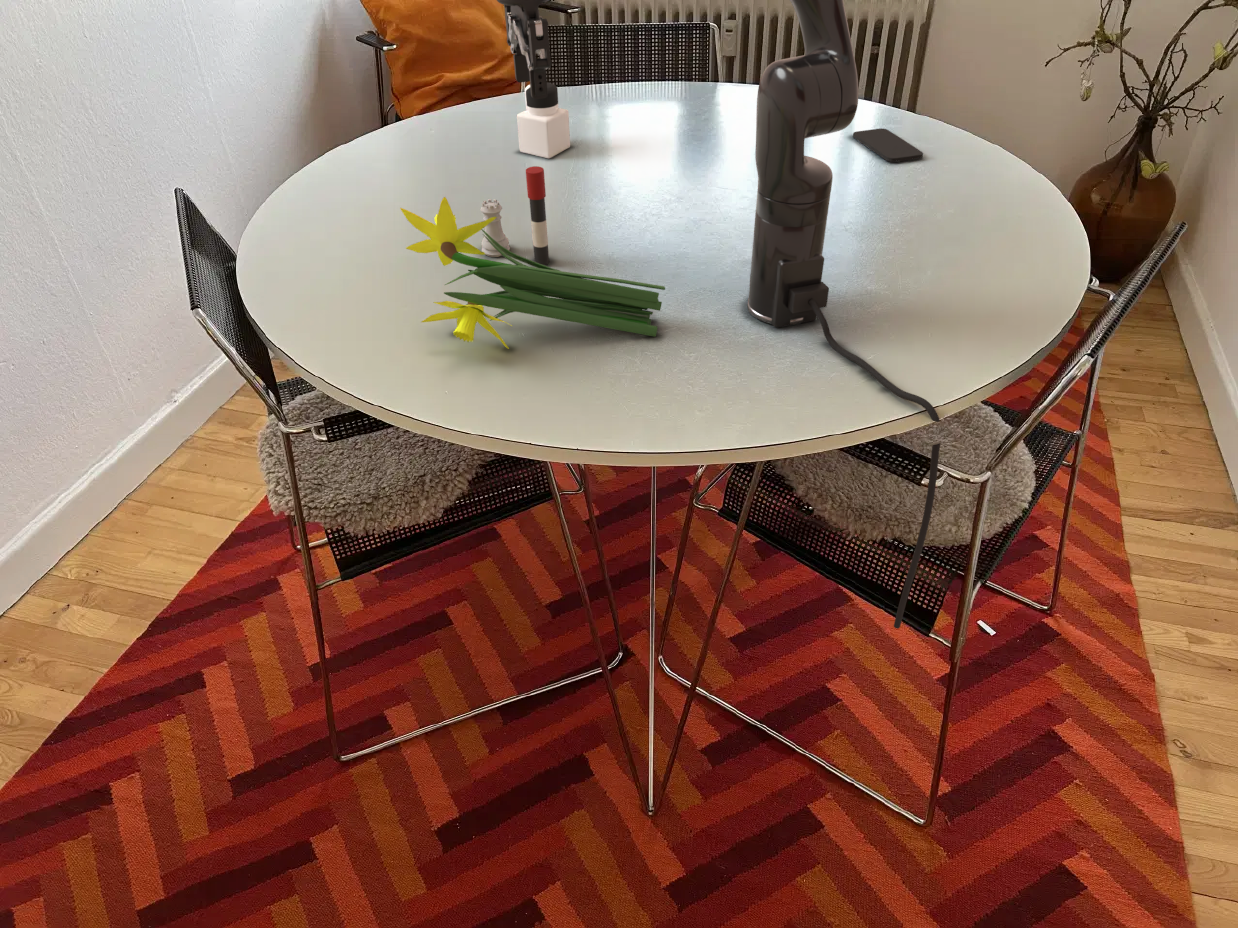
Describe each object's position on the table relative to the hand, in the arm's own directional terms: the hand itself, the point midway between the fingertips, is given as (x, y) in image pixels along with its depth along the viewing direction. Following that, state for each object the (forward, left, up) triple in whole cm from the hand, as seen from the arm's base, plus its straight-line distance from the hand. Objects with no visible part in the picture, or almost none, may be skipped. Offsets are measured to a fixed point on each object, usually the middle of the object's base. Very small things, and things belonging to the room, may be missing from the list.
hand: (531, 89), depth 129 cm
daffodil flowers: (-25, +7, -24) cm, 35 cm away
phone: (+17, -71, -24) cm, 77 cm away
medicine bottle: (+39, -10, -24) cm, 46 cm away
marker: (-6, +2, -24) cm, 24 cm away
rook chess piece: (0, +8, -24) cm, 25 cm away
